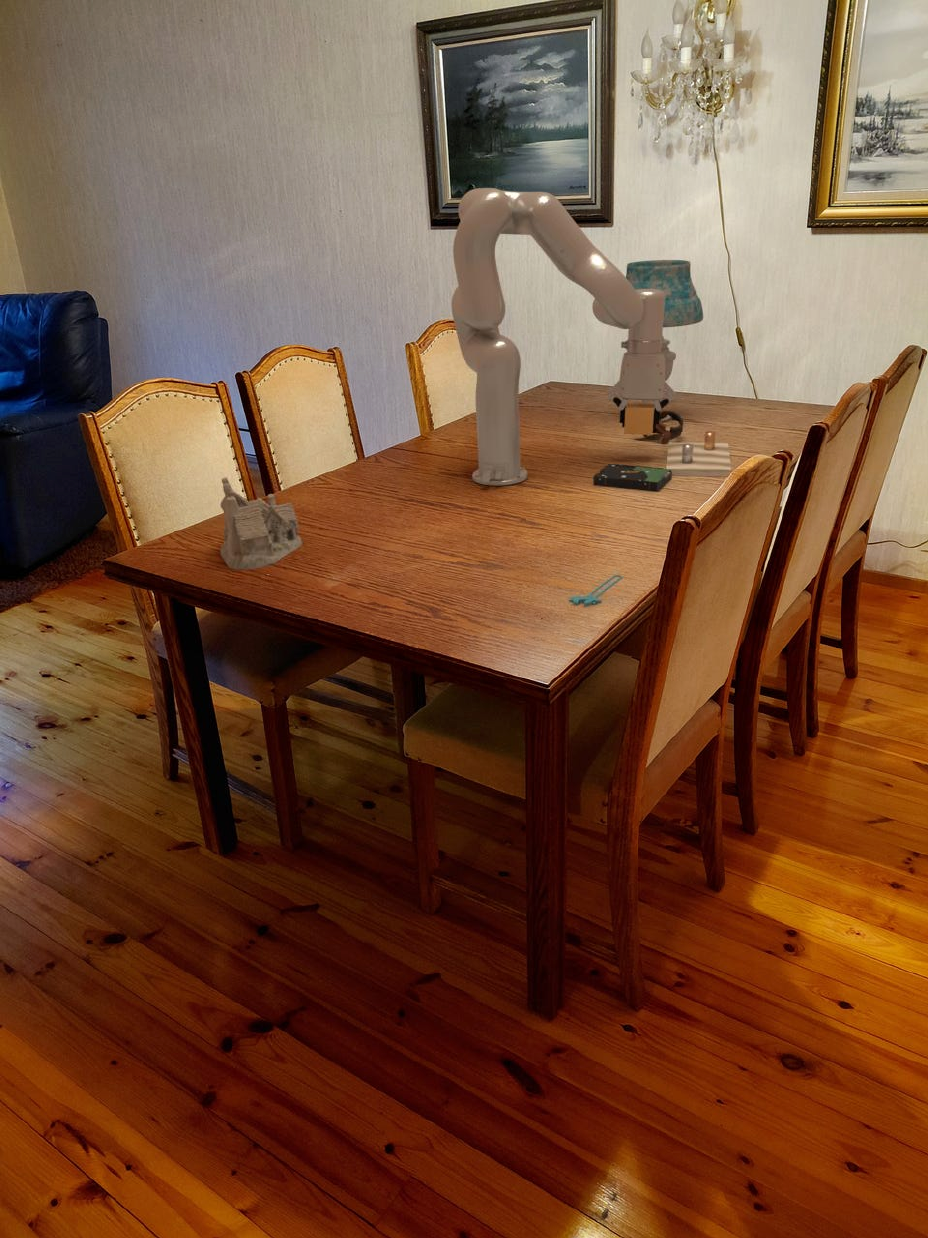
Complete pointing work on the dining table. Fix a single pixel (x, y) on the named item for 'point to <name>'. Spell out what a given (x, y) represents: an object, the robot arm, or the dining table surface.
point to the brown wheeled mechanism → (673, 431)
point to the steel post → (687, 453)
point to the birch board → (699, 460)
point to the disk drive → (632, 477)
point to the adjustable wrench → (591, 598)
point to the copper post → (709, 441)
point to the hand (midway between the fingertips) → (639, 425)
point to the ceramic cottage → (256, 530)
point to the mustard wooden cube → (639, 418)
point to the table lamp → (669, 297)
